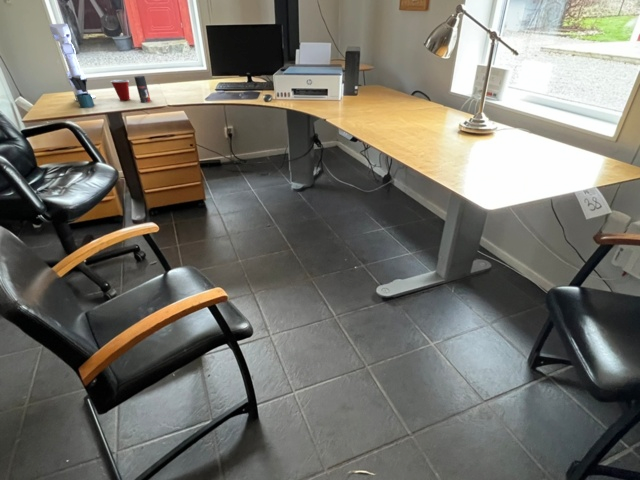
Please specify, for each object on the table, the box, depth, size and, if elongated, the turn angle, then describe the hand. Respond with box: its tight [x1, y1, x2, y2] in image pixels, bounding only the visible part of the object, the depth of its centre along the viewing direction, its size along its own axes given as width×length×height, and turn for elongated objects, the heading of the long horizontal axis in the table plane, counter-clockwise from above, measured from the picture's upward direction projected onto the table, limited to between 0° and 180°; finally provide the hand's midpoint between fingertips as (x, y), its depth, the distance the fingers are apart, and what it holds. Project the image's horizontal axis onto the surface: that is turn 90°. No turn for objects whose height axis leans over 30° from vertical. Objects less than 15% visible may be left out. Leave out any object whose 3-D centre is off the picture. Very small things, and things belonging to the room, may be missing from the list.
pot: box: [76, 92, 97, 109], centre depth 236 cm, size 10×8×7 cm
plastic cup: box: [110, 79, 130, 102], centre depth 247 cm, size 11×11×12 cm
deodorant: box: [134, 75, 152, 104], centre depth 241 cm, size 6×6×15 cm
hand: (81, 90), depth 233 cm, fingers open, 7 cm apart
